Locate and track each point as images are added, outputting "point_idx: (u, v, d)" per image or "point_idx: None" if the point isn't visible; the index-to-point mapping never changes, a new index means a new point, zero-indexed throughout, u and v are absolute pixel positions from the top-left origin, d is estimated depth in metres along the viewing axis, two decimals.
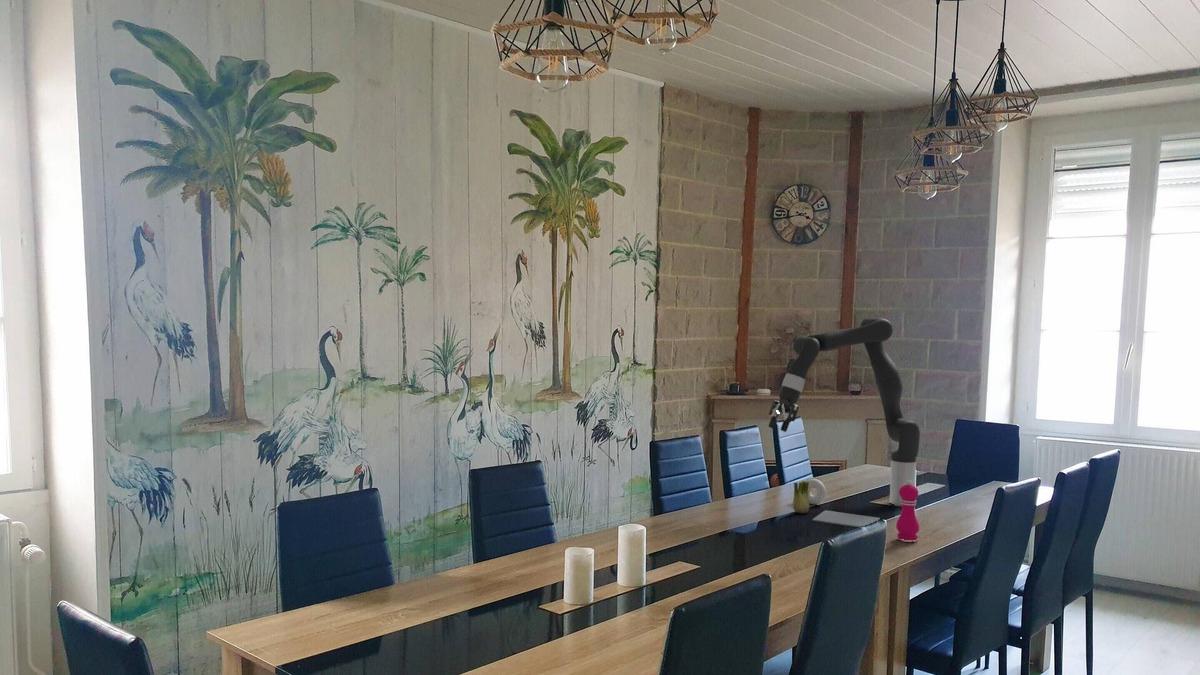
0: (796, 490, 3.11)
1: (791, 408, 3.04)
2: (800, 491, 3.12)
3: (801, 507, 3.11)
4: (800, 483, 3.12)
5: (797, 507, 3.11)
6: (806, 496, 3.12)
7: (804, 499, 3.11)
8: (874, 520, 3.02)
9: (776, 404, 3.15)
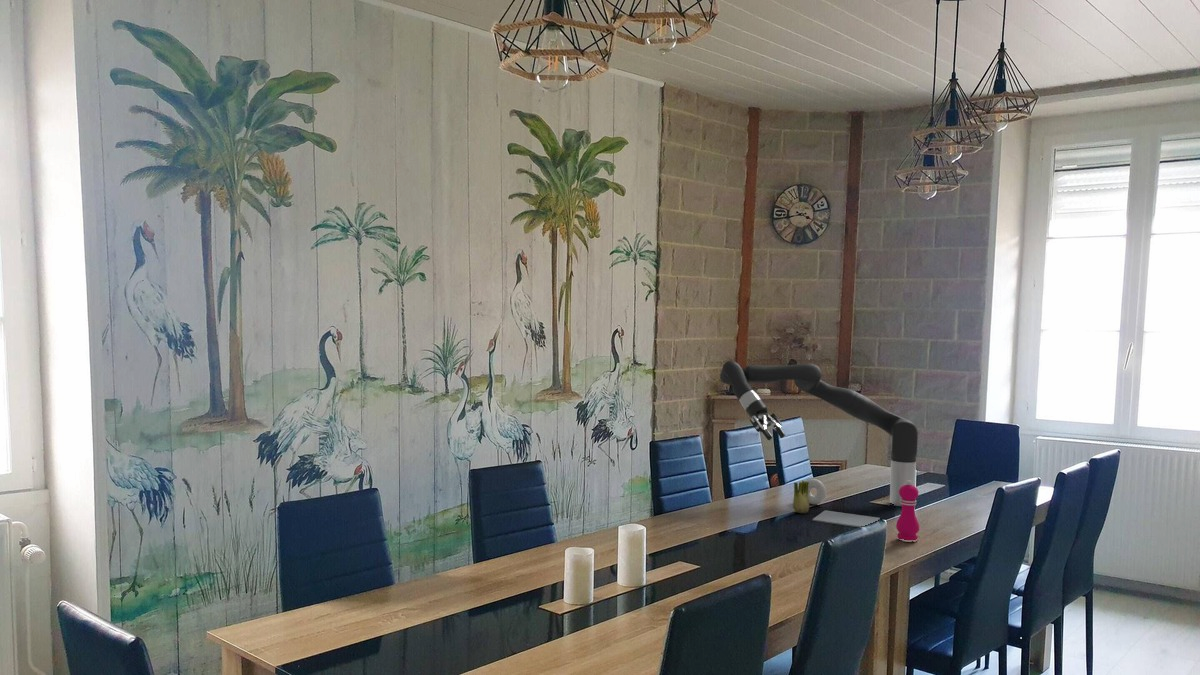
0: (796, 490, 3.11)
1: (775, 416, 3.28)
2: (800, 491, 3.12)
3: (801, 507, 3.11)
4: (800, 483, 3.12)
5: (797, 507, 3.11)
6: (806, 496, 3.12)
7: (804, 499, 3.11)
8: (874, 520, 3.02)
9: None
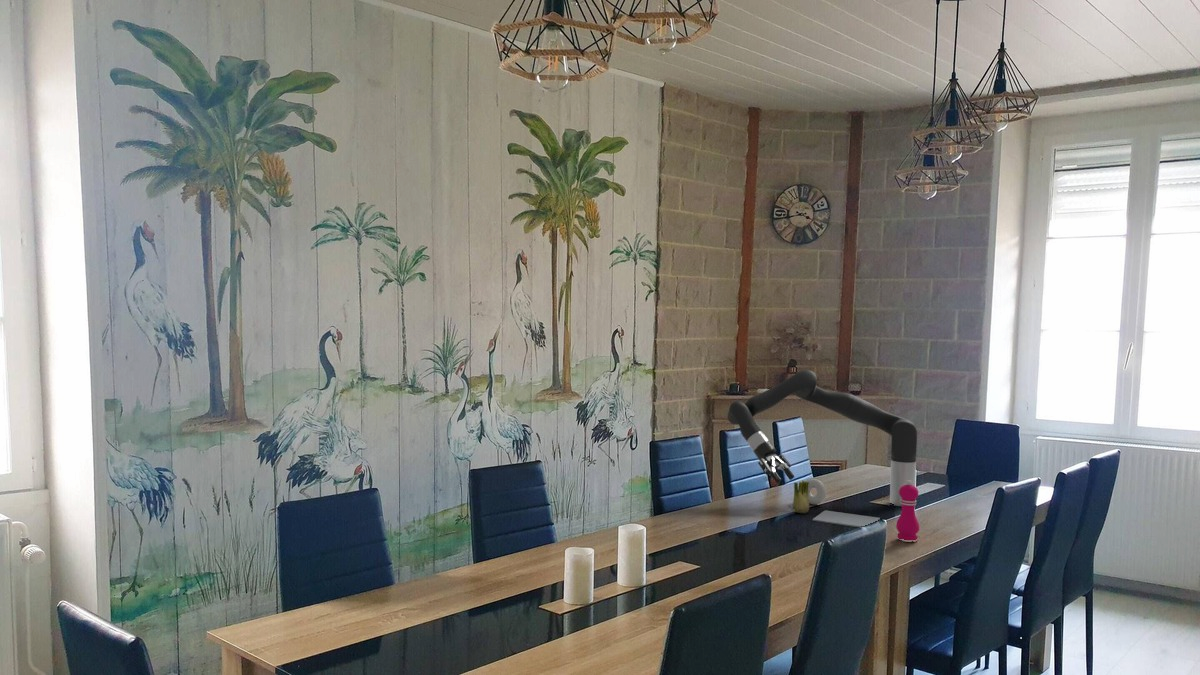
0: (796, 490, 3.11)
1: (784, 457, 3.25)
2: (800, 491, 3.12)
3: (801, 507, 3.11)
4: (800, 483, 3.12)
5: (797, 507, 3.11)
6: (806, 496, 3.12)
7: (804, 499, 3.11)
8: (874, 520, 3.02)
9: None
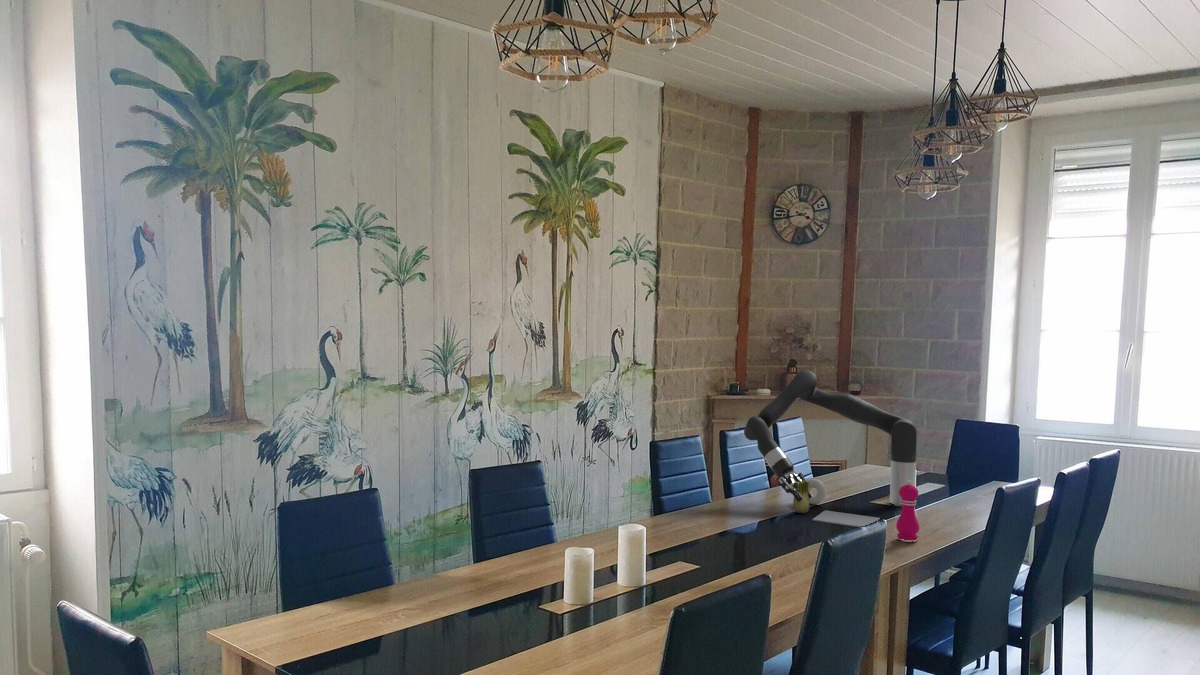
0: (796, 490, 3.12)
1: (802, 476, 3.19)
2: (800, 491, 3.12)
3: (801, 506, 3.11)
4: (800, 483, 3.12)
5: (797, 507, 3.11)
6: (806, 496, 3.12)
7: (804, 499, 3.12)
8: (874, 520, 3.02)
9: None
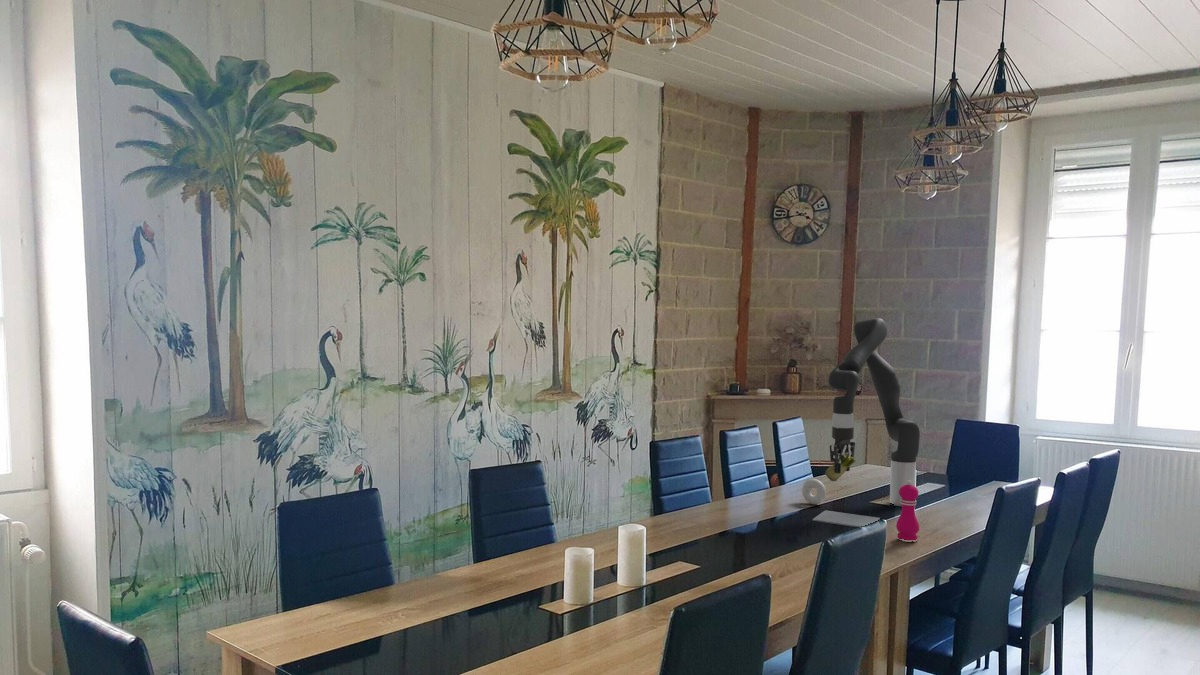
0: None
1: (853, 447, 3.07)
2: (843, 464, 3.03)
3: (833, 475, 3.05)
4: (848, 459, 3.01)
5: (829, 473, 3.05)
6: (844, 469, 3.04)
7: None
8: (874, 520, 3.02)
9: None
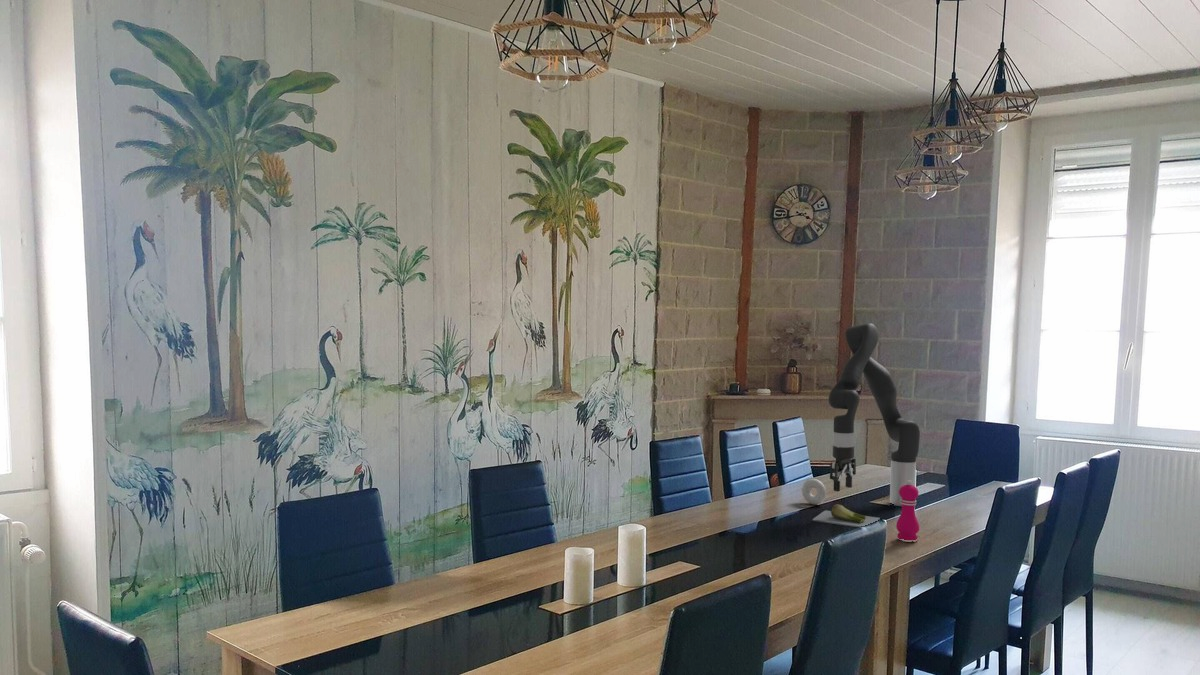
0: (853, 520, 2.99)
1: (854, 463, 3.07)
2: None
3: None
4: (861, 521, 2.98)
5: (836, 516, 3.02)
6: None
7: None
8: (874, 520, 3.02)
9: None
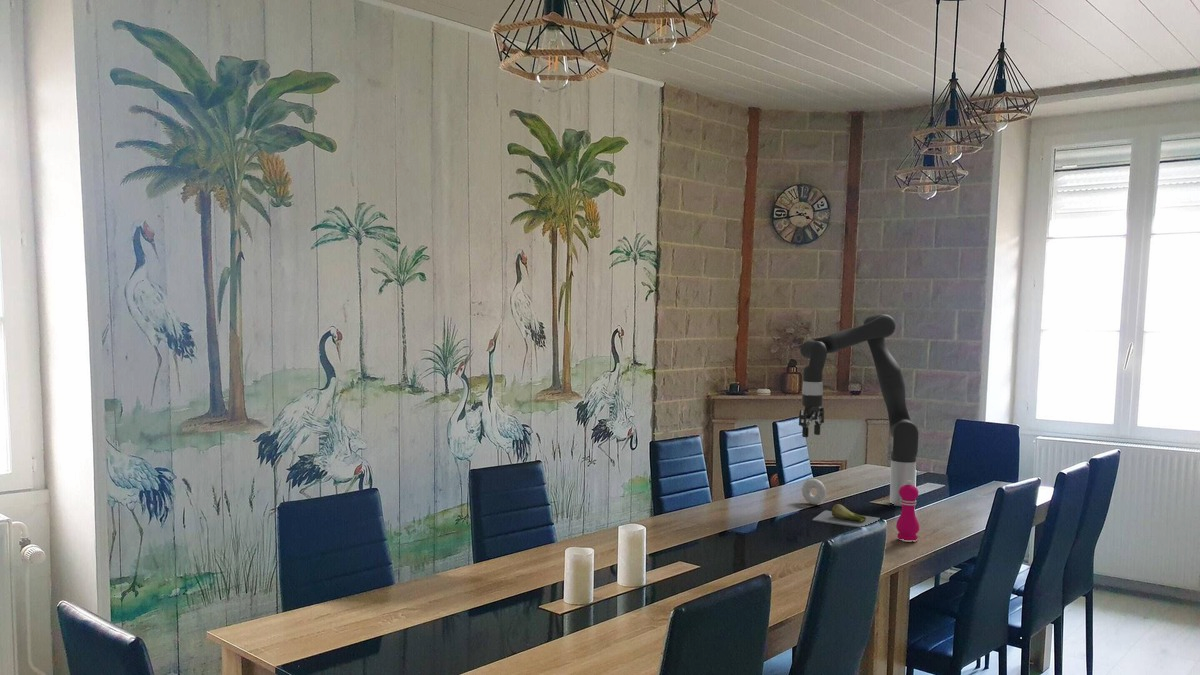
0: (853, 519, 2.99)
1: (823, 412, 3.23)
2: None
3: (837, 517, 3.03)
4: (861, 521, 2.98)
5: (836, 515, 3.03)
6: None
7: None
8: (874, 520, 3.02)
9: None
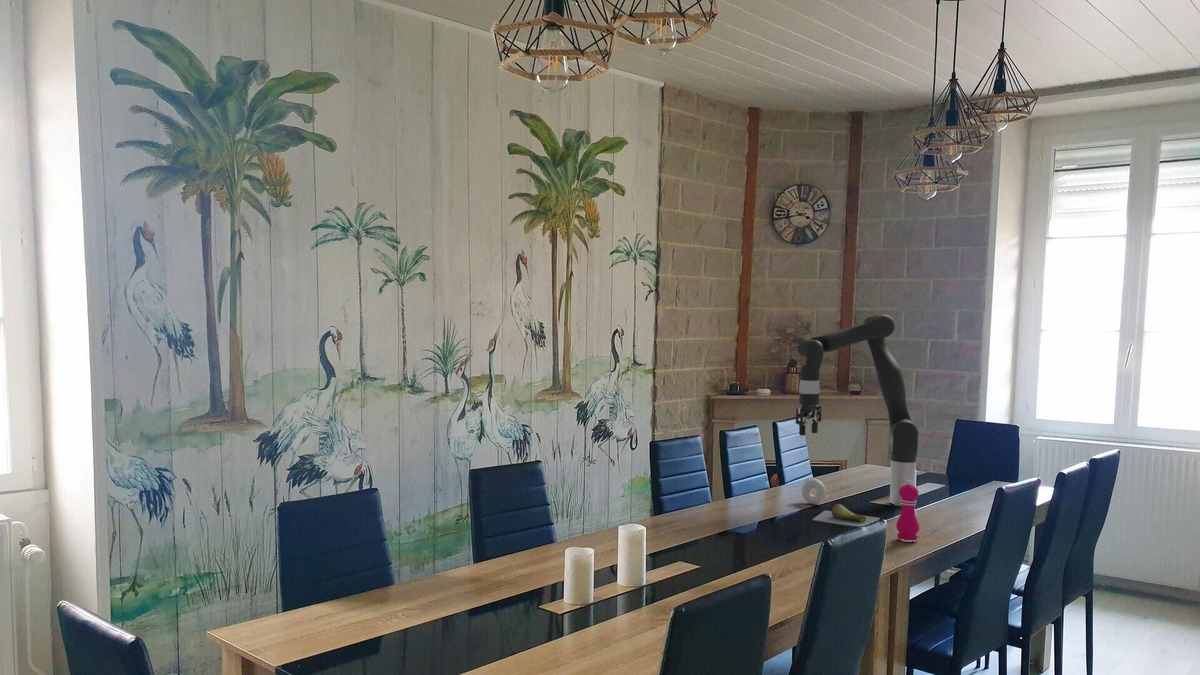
0: (853, 519, 2.99)
1: (820, 410, 3.24)
2: None
3: (837, 517, 3.03)
4: (861, 521, 2.98)
5: (836, 514, 3.03)
6: None
7: None
8: (874, 520, 3.02)
9: None
